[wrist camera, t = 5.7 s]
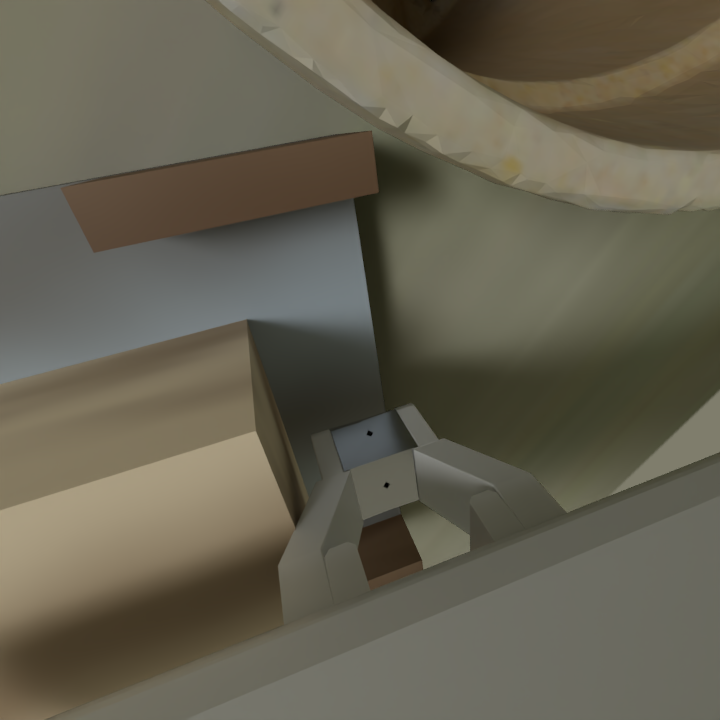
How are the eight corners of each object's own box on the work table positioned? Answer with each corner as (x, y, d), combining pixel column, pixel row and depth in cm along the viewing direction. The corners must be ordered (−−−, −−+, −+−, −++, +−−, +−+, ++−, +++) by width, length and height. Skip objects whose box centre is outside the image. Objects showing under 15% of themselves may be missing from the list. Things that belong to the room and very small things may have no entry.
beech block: (-67, 401, 9) (-304, 605, 5) (246, 319, 10) (256, 430, 6) (96, 574, 12) (34, 767, 8) (309, 499, 13) (340, 640, 10)
